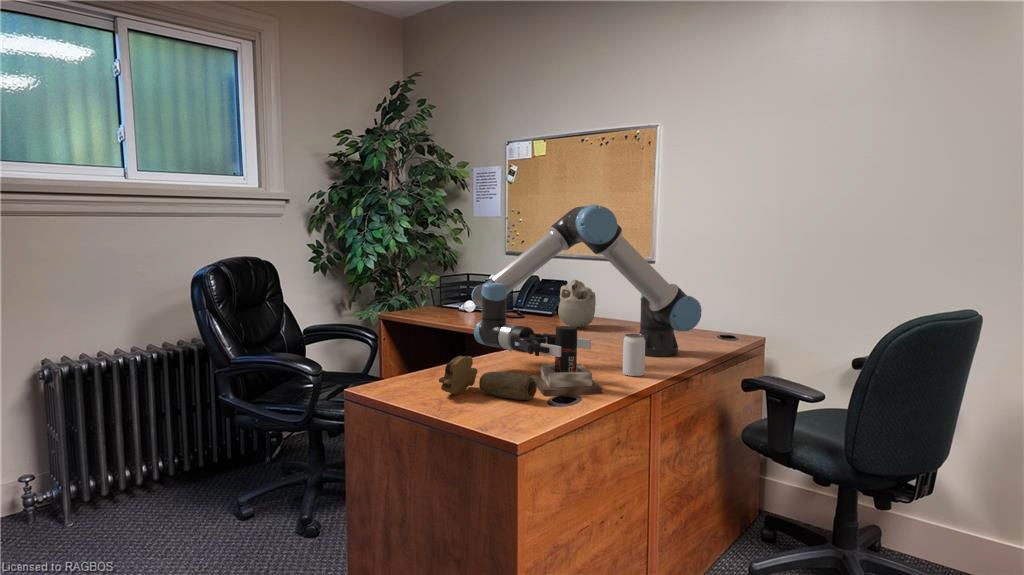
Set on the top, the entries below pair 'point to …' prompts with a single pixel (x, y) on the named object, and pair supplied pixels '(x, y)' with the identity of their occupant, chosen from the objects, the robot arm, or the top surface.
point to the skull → (576, 304)
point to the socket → (566, 381)
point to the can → (634, 355)
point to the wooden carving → (458, 375)
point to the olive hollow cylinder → (508, 385)
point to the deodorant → (566, 349)
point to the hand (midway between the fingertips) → (575, 348)
